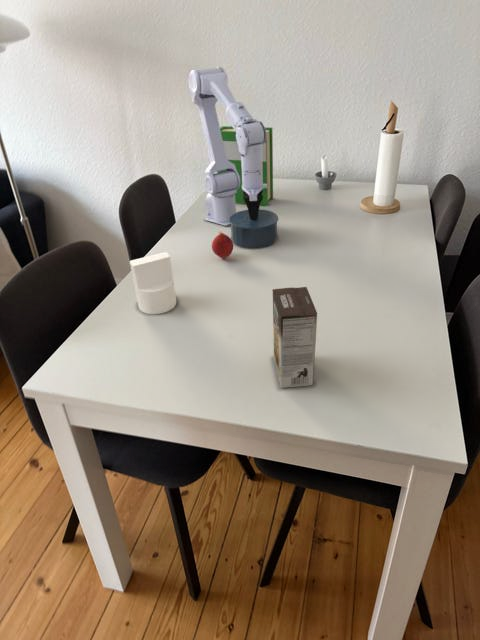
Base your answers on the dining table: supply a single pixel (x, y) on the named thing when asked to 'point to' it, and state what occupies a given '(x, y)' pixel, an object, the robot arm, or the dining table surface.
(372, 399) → the dining table surface
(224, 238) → the red round fruit
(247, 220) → the pot lid
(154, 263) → the base with upright slab
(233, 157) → the hardback book
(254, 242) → the pot
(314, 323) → the coffee box
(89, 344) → the dining table surface
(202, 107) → the robot arm
